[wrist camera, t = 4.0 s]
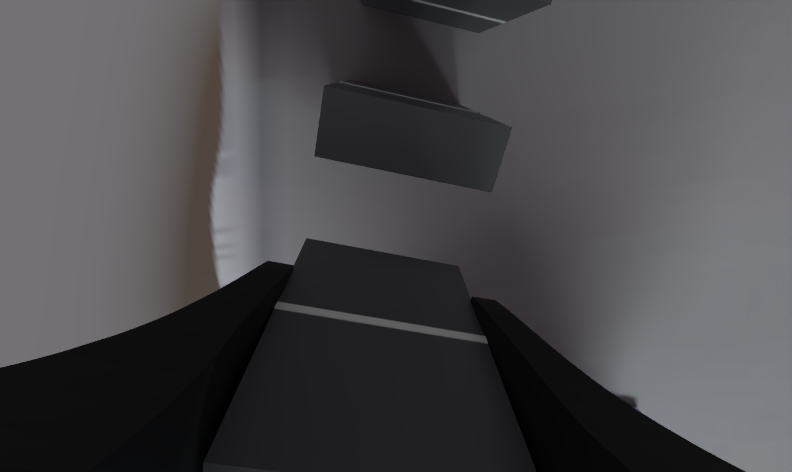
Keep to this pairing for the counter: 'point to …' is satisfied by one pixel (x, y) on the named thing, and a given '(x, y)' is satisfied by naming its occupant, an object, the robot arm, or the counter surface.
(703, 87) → the counter surface
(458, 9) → the domino
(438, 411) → the domino
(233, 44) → the counter surface
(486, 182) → the domino
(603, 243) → the counter surface
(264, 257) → the counter surface
